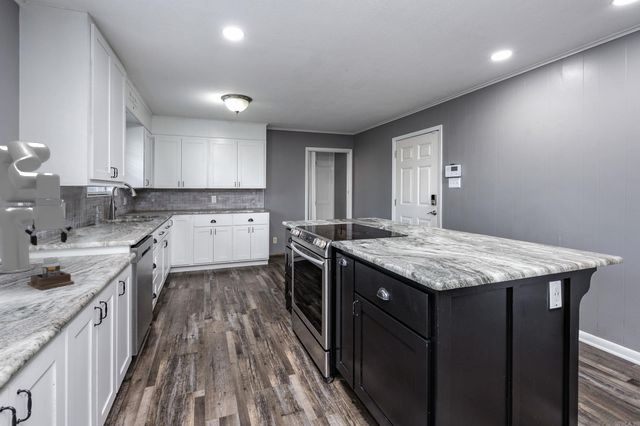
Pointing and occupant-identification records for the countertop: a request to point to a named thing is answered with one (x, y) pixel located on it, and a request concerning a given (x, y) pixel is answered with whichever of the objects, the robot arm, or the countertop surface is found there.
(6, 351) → the countertop surface
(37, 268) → the countertop surface
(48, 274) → the pill bottle
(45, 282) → the socket board
